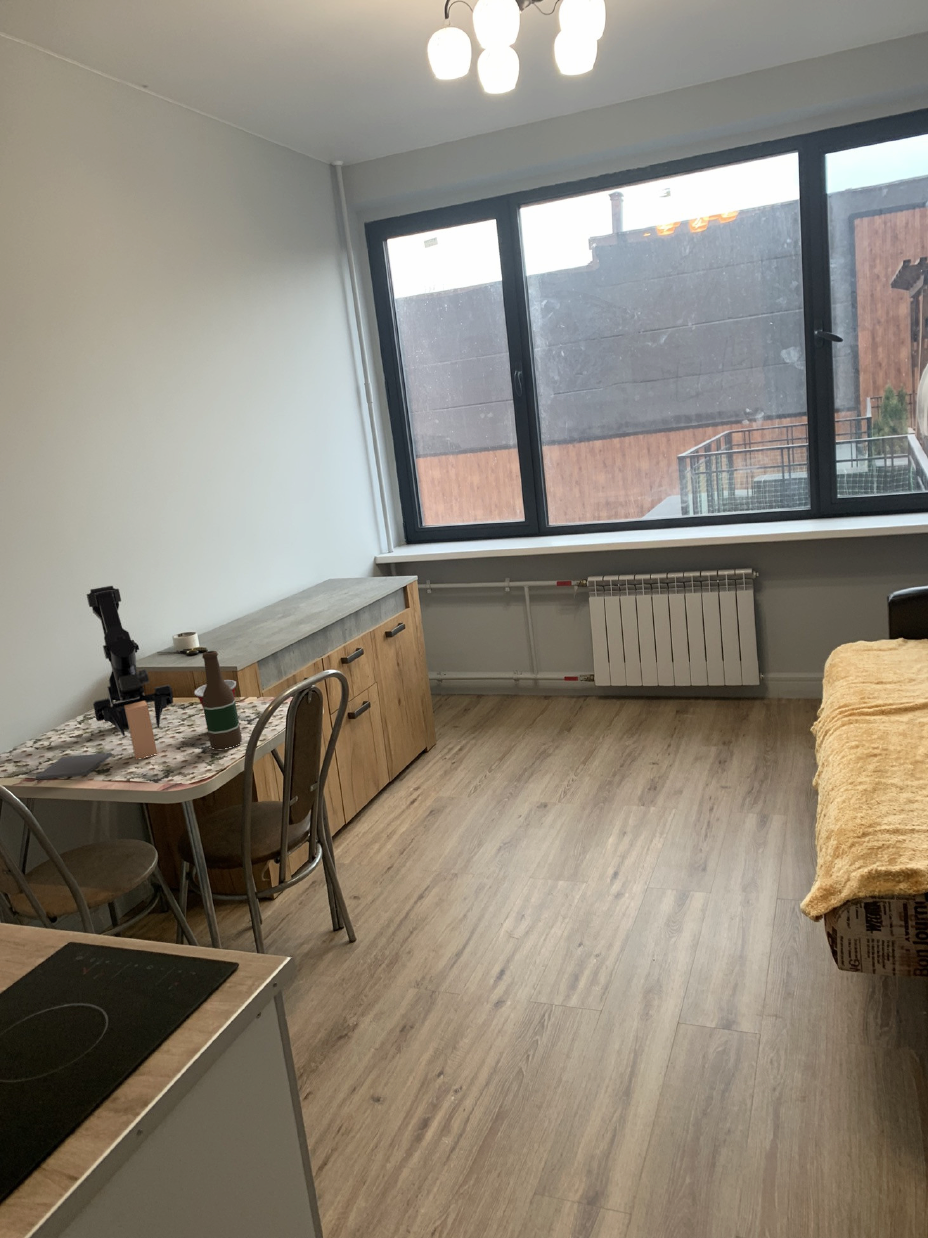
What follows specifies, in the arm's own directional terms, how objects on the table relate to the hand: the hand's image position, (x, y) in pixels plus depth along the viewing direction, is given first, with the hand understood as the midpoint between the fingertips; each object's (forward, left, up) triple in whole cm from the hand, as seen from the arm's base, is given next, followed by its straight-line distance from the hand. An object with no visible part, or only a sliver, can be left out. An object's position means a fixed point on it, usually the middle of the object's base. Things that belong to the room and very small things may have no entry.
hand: (141, 730), depth 229 cm
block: (-1, -1, -7) cm, 7 cm away
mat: (+12, -12, -7) cm, 19 cm away
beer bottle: (-13, +15, -7) cm, 21 cm away
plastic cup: (-21, +3, -7) cm, 22 cm away
